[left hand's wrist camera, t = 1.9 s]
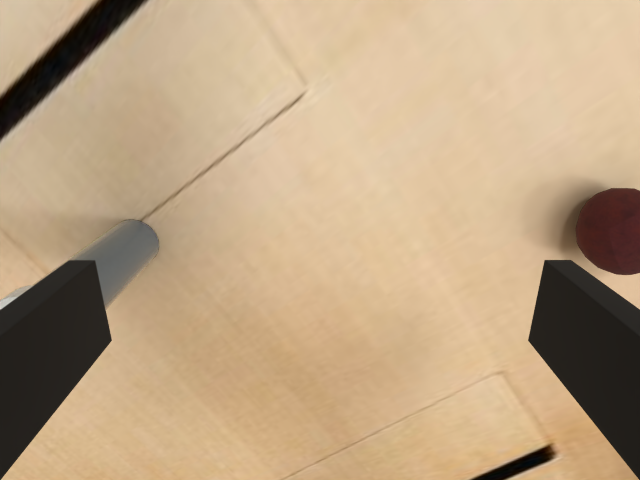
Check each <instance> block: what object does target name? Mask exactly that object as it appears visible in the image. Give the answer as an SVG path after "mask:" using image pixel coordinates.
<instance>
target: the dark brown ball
mask: <svg viewBox="0 0 640 480" xmlns="http://www.w3.org/2000/svg"><path fill="white" fill-rule="evenodd" d="M576 237H577V244H578V246H579V248H580V249H581V251H582V252H583V254H584V255H585V257H586V258H587V259H589V260H590V261H591V262H592V263H593V264H594V265H596V266H597V267H598V268H600V269H603V270H606V271H608V272H611V273H614V274H619V275H632V274H637V273H640V191H639V190H636V189H630V188H611V189H609V190H606V191H603V192H600V193H598V194H596V195H595V196H593V197H592V198H591V199H590V200H588V201H587V202H586V204H585V205H584V207H583V208H582V210H581V212H580V215H579V219H578V222H577V226H576Z"/></svg>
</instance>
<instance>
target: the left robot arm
mask: <svg viewBox="0 0 640 480" xmlns="http://www.w3.org/2000/svg"><path fill="white" fill-rule="evenodd" d="M111 341H112V339H111V334H110V330H109V325H108V320H107V315H106V310H105V305H104V300H103V295H102V291H101V286H100V281H99V276H98V271H97V266H96V261H95V260H69V261H67V262H66V263H64V264H63V265H62V266H60V267H59V268H57V269H56V270H55V271H53V272H52V273H50V274H49V275H48V276H46V277H45V278H44V279H42V280H41V281H39V282H38V283H37V284H35V285H34V286H32V287H31V288H30V289H28V290H27V291H25V292H24V293H23V294H21V295H20V296H19V297H17V298H16V299H14V300H13V301H12V302H10V303H9V304H7V305H6V306H5V307H3V308H2V309H0V480H1V479H2V477H3V476H4V475H5V474H6V472H7V471H8V470H9V469H10V467H11V466H12V465H13V464H14V462H15V461H16V460H17V459H18V457H19V456H20V455H21V454H22V452H23V451H24V450H25V449H26V447H27V446H28V445H29V444H30V442H31V441H32V440H33V439H34V437H35V436H36V435H37V434H38V432H39V431H40V430H41V429H42V427H43V426H44V425H45V423H46V422H47V421H48V420H49V418H50V417H51V416H52V415H53V413H54V412H55V411H56V410H57V408H58V407H59V406H60V405H61V403H62V402H63V401H64V400H65V398H66V397H67V396H68V395H69V393H70V392H71V391H72V390H73V388H74V387H75V386H76V385H77V383H78V382H79V381H80V380H81V378H82V377H83V376H84V375H85V373H86V372H87V371H88V370H89V368H90V367H91V366H92V365H93V363H94V362H95V361H96V360H97V358H98V357H99V356H100V355H101V353H102V352H103V351H104V350H105V348H106V347H107V346H108V345H109V343H110V342H111ZM528 341H529V342H530V343H531V345H532V346H533V347H534V348H535V350H536V351H537V352H538V353H539V355H540V356H541V357H542V358H543V360H544V361H545V362H546V363H547V365H548V366H549V367H550V368H551V370H552V371H553V372H554V373H555V375H556V376H557V377H558V378H559V380H560V381H561V382H562V383H563V385H564V386H565V387H566V388H567V390H568V391H569V392H570V393H571V395H572V396H573V397H574V398H575V400H576V401H577V402H578V403H579V405H580V406H581V407H582V408H583V410H584V411H585V412H586V413H587V415H588V416H589V417H590V418H591V420H592V421H593V422H594V424H595V425H596V426H597V427H598V429H599V430H600V431H601V432H602V434H603V435H604V436H605V437H606V439H607V440H608V441H609V442H610V444H611V445H612V446H613V447H614V449H615V450H616V451H617V452H618V454H619V455H620V456H621V457H622V459H623V460H624V461H625V462H626V464H627V465H628V466H629V467H630V469H631V470H632V471H633V472H634V474H635V475H636V476H637V477H638V479H639V480H640V309H638V308H637V307H635V306H634V305H633V304H631V303H630V302H628V301H627V300H626V299H624V298H623V297H621V296H620V295H619V294H617V293H616V292H615V291H613V290H612V289H610V288H609V287H608V286H606V285H605V284H603V283H602V282H601V281H599V280H598V279H596V278H595V277H594V276H592V275H591V274H589V273H588V272H587V271H585V270H584V269H583V268H581V267H580V266H578V265H577V264H576V263H574V262H573V261H571V260H545V261H544V266H543V271H542V276H541V281H540V286H539V291H538V295H537V300H536V305H535V310H534V315H533V320H532V325H531V330H530V334H529V339H528Z"/></svg>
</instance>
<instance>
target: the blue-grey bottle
mask: <svg viewBox="0 0 640 480" xmlns="http://www.w3.org/2000/svg"><path fill="white" fill-rule="evenodd" d="M158 250H159V241H158V237H157V235H156V233H155V232H154V231H153V229H152V228H151V227H149V226H148V225H147V224H145V223H143V222H141V221H137V220H125V221H122V222H120V223H118V224H117V225H116V226H114V227H113V228H111V229H110V230H109V231H107V232H106V233H104V234H103V235H102V236H100V237H99V238H97V239H96V240H95V241H93V242H92V243H90V244H89V245H88V246H86V247H85V248H83V249H82V250H81V251H79V252H78V253H76V254H75V255H74V256H72V257H71V258H69V259H68V260H67V261H69V260H95V261H96V266H97V271H98V276H99V281H100V286H101V291H102V295H103V300H104V305H105V310H106V309H107V308H108V307H109V306H110V305H111V304H112V303H113V302H114V301H115V300H116V299H117V298H118V296H119V295H120V294H121V293H122V292H123V291H124V290H125V289H126V288H127V287H128V286H129V285H130V284H131V282H132V281H133V280H134V279H135V278H136V277H137V276H138V275H139V274H140V273H141V272H142V271H143V270H144V268H145V267H146V266H147V265H148V264H149V263H150V262H151V261H152V260H153V259H154V258H155V256H156V255H157V253H158ZM67 261H65V262H64V263H66V262H67ZM64 263H62V264H61V265H60V266H62V265H63V264H64ZM60 266H58V267H57V268H59V267H60ZM57 268H55V269H54V270H53V271H55V270H56V269H57ZM53 271H51V272H50V273H52V272H53ZM50 273H48V274H47V275H46V276H48V275H49V274H50ZM46 276H44V277H43V278H41V279H40V280H39V281H41V280H42V279H44V278H45V277H46ZM39 281H37V282H36V283H34V284H33V285H35V284H37V283H38V282H39Z"/></svg>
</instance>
